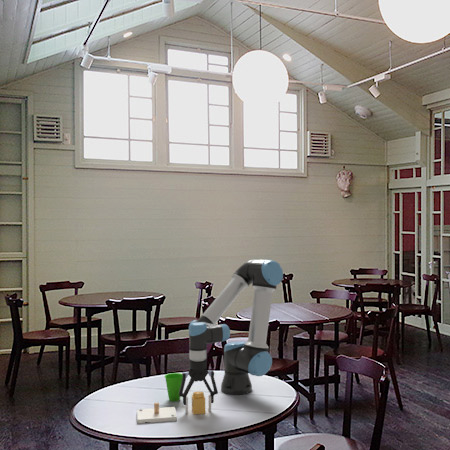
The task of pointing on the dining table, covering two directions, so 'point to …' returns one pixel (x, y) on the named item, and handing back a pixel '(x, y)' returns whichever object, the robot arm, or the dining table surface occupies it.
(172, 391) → the cup
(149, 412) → the lid
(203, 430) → the dining table surface
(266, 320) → the robot arm
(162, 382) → the dining table surface
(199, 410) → the ball on cube
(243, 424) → the dining table surface
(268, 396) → the dining table surface
